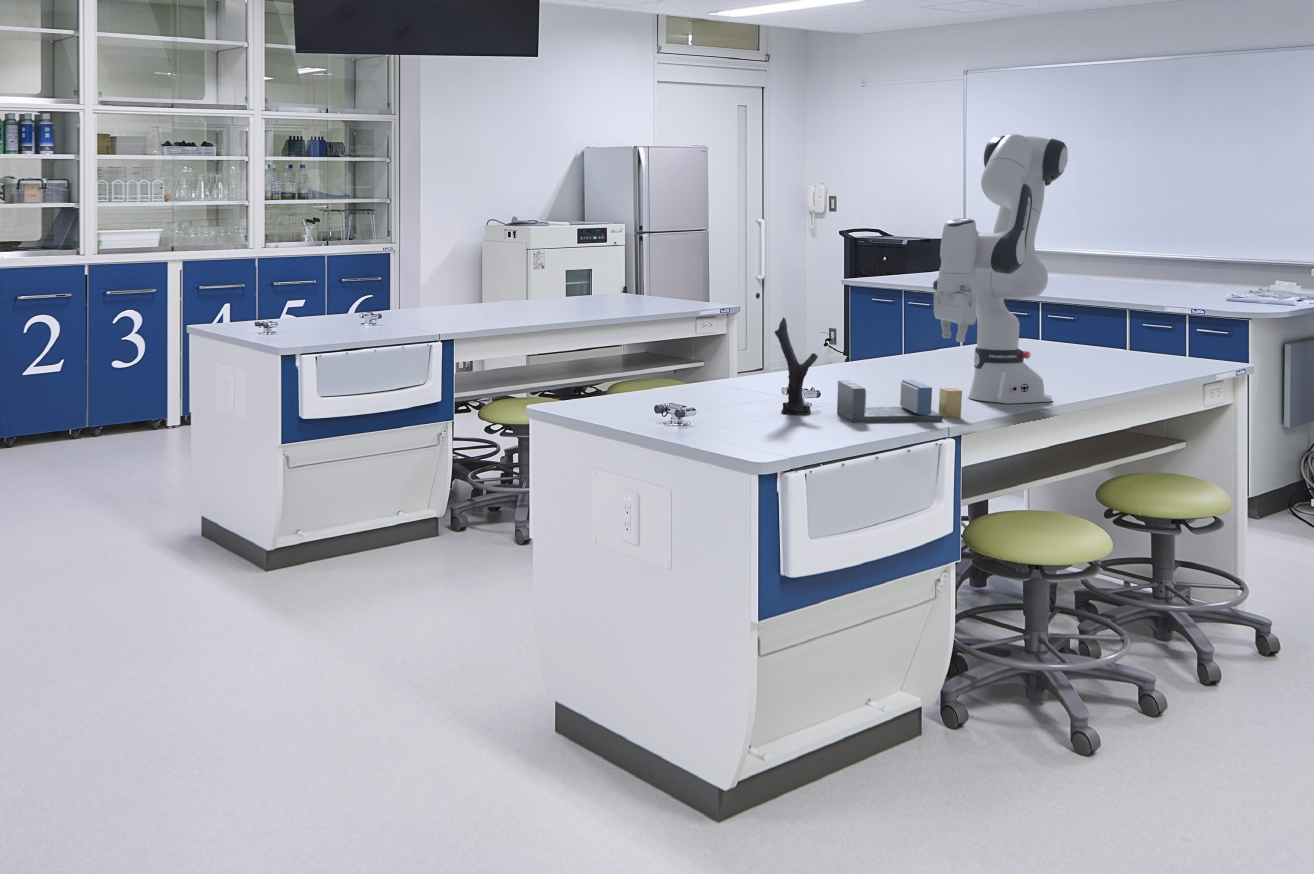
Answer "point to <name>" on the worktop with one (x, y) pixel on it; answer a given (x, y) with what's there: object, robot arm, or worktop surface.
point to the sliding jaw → (916, 397)
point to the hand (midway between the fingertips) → (953, 340)
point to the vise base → (873, 408)
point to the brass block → (950, 402)
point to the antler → (794, 374)
